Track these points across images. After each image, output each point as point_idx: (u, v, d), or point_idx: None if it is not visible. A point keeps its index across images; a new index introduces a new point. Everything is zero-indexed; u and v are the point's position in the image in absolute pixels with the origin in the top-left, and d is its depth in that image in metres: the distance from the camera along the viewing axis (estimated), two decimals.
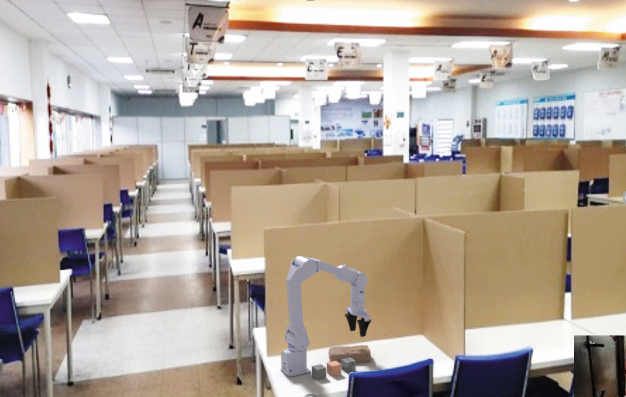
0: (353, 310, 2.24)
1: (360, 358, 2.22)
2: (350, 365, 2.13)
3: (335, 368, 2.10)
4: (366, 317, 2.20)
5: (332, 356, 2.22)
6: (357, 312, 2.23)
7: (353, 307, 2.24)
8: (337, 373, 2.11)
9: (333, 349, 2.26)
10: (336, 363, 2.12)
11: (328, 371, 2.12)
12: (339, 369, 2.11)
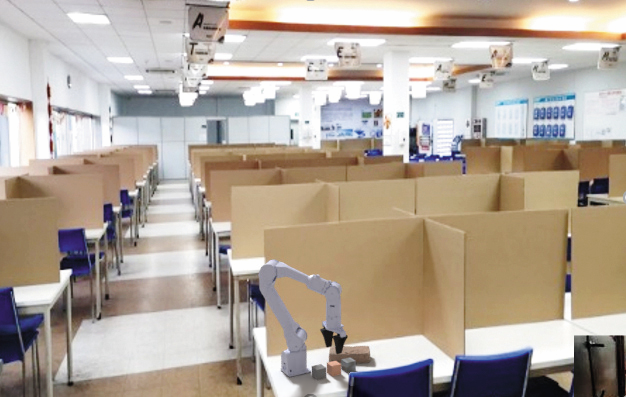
0: (328, 325, 2.08)
1: (359, 359, 2.22)
2: (350, 365, 2.13)
3: (335, 368, 2.10)
4: (342, 333, 2.04)
5: (331, 355, 2.23)
6: (332, 327, 2.08)
7: (328, 322, 2.08)
8: (337, 373, 2.11)
9: (333, 348, 2.27)
10: (336, 363, 2.12)
11: (328, 371, 2.12)
12: (339, 369, 2.11)
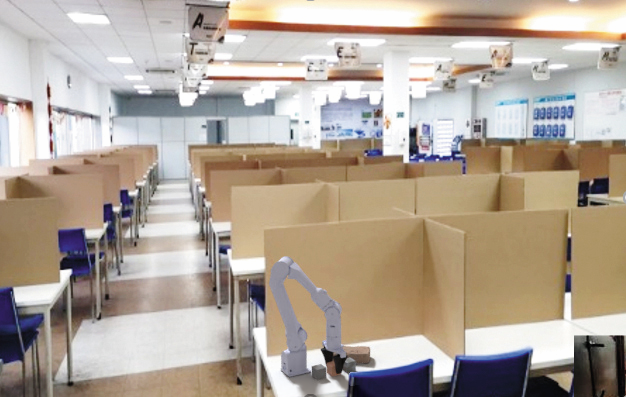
0: (328, 345, 2.09)
1: (358, 359, 2.22)
2: (350, 365, 2.13)
3: None
4: (342, 353, 2.05)
5: None
6: (333, 347, 2.09)
7: (328, 342, 2.09)
8: None
9: None
10: None
11: (328, 371, 2.12)
12: None
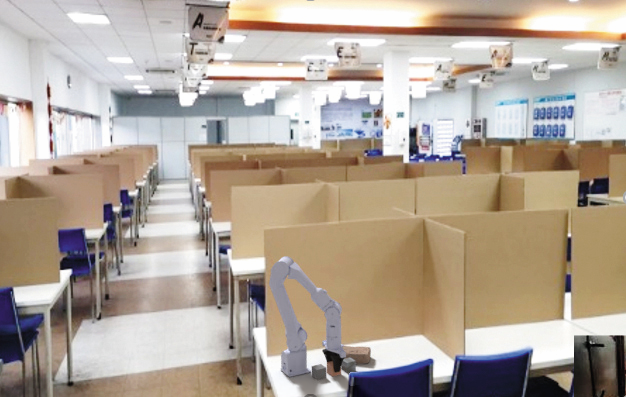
0: (328, 345, 2.09)
1: (357, 359, 2.21)
2: (350, 365, 2.13)
3: None
4: (342, 353, 2.05)
5: None
6: (333, 347, 2.09)
7: (328, 342, 2.09)
8: (337, 373, 2.11)
9: None
10: None
11: (328, 371, 2.12)
12: None
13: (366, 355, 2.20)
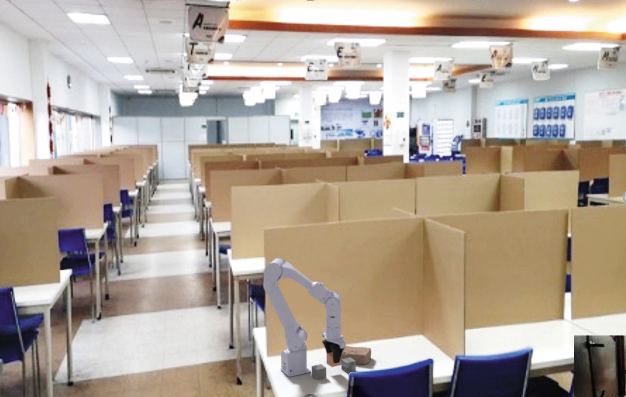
0: (328, 336, 2.09)
1: (356, 359, 2.21)
2: (350, 365, 2.13)
3: None
4: (342, 344, 2.05)
5: None
6: (332, 338, 2.08)
7: (328, 333, 2.09)
8: (337, 364, 2.11)
9: None
10: None
11: (328, 362, 2.12)
12: None
13: (364, 356, 2.20)
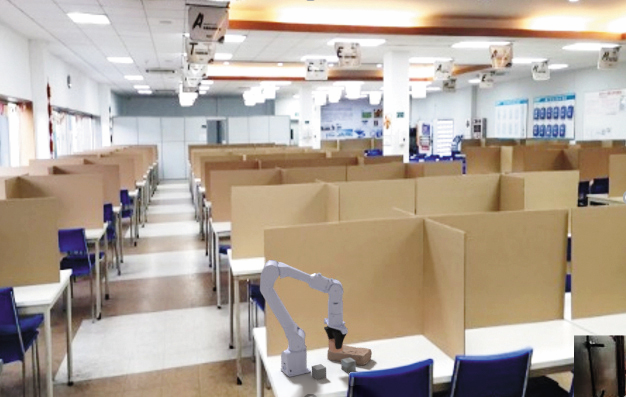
0: (330, 322, 2.11)
1: None
2: (350, 365, 2.13)
3: None
4: (344, 330, 2.07)
5: (328, 352, 2.26)
6: (334, 324, 2.11)
7: (330, 319, 2.11)
8: (339, 350, 2.13)
9: None
10: None
11: (330, 348, 2.14)
12: None
13: (362, 356, 2.19)
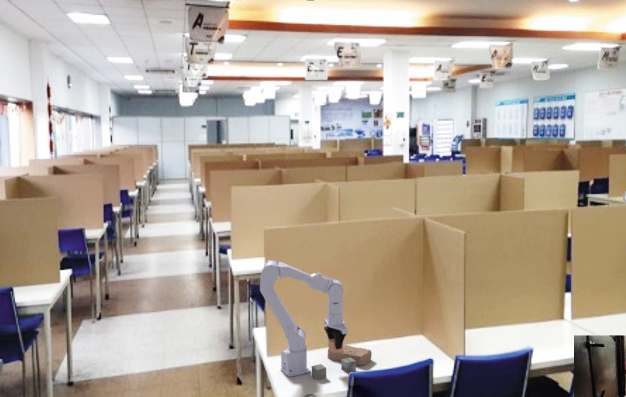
0: (330, 322, 2.11)
1: None
2: (350, 365, 2.13)
3: None
4: (344, 330, 2.07)
5: (328, 351, 2.27)
6: (334, 324, 2.11)
7: (330, 319, 2.11)
8: (339, 350, 2.13)
9: None
10: None
11: (330, 348, 2.14)
12: None
13: (360, 357, 2.18)
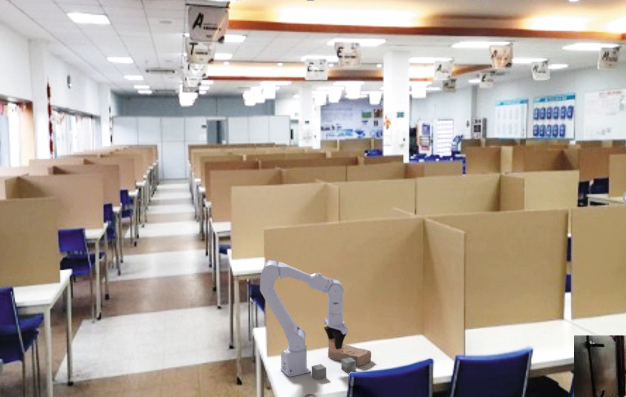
0: (330, 322, 2.11)
1: None
2: (350, 365, 2.13)
3: None
4: (344, 330, 2.07)
5: (329, 350, 2.28)
6: (334, 324, 2.11)
7: (330, 319, 2.11)
8: (339, 350, 2.13)
9: None
10: None
11: (330, 348, 2.14)
12: None
13: (358, 357, 2.18)
